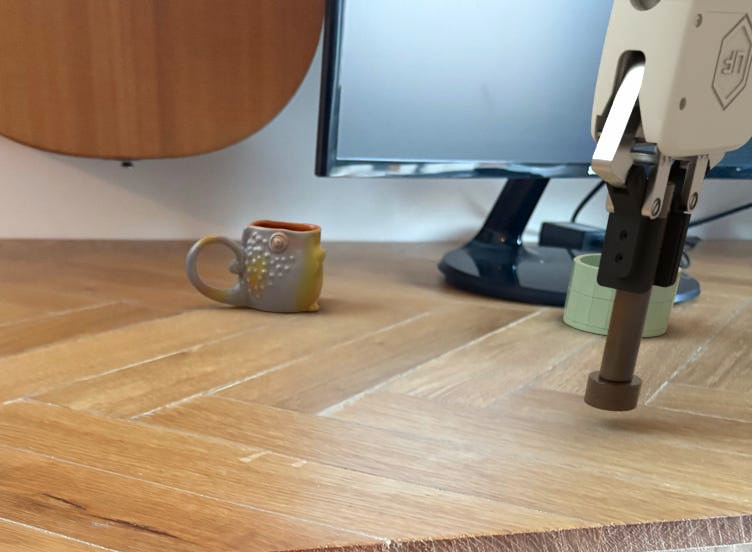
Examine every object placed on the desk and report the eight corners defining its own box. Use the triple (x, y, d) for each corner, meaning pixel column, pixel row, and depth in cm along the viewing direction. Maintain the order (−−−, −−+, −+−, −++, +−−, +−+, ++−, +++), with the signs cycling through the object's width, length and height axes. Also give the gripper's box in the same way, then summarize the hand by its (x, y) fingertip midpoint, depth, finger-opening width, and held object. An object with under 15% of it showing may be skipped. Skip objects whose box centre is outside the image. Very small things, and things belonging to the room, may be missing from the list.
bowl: (633, 311, 90) (646, 253, 87) (687, 337, 83) (703, 274, 80) (545, 312, 88) (556, 253, 85) (592, 338, 81) (606, 274, 78)
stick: (620, 393, 63) (667, 177, 57) (646, 410, 61) (699, 185, 54) (574, 396, 63) (616, 177, 56) (599, 412, 60) (646, 185, 53)
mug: (308, 295, 90) (313, 216, 87) (331, 313, 84) (337, 230, 81) (177, 298, 87) (177, 216, 84) (192, 317, 82) (192, 230, 78)
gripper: (712, -131, 41) (618, 320, 51) (862, -96, 51) (759, 280, 60) (558, -119, 46) (500, 292, 56) (722, -89, 55) (647, 259, 65)
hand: (635, 283), depth 58 cm, fingers closed on stick, 2 cm apart
